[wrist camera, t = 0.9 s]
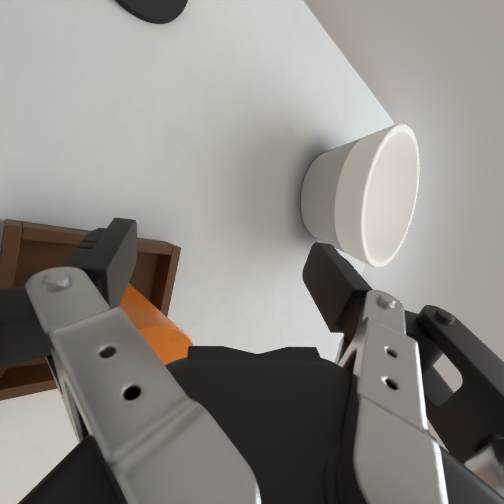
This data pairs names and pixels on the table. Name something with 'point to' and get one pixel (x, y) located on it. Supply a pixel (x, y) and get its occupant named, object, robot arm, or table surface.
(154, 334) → the orange cylinder
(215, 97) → the table surface
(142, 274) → the tray
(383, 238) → the bowl
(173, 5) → the coaster
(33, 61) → the table surface
